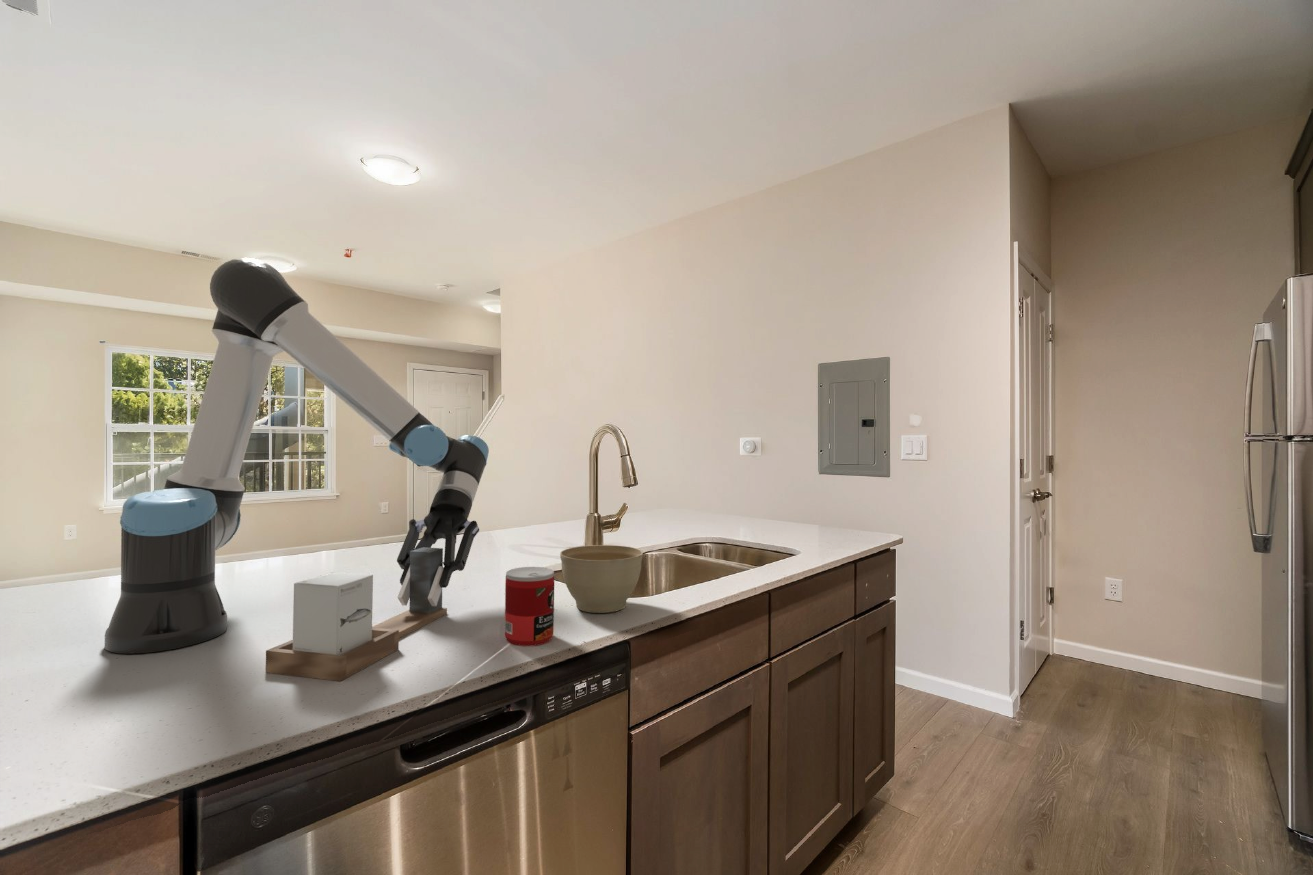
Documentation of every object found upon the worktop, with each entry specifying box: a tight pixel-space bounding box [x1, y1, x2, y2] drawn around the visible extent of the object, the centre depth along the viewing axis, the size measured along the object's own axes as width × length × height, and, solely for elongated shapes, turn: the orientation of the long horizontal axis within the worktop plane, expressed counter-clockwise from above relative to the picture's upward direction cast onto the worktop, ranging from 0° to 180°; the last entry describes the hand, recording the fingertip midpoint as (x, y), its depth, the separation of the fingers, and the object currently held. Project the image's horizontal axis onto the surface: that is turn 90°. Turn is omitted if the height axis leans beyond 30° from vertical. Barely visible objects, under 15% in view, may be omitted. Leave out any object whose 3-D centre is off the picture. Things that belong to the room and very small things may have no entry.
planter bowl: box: [559, 544, 644, 614], centre depth 114 cm, size 16×16×11 cm
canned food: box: [504, 566, 555, 647], centre depth 96 cm, size 8×8×11 cm
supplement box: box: [292, 571, 374, 655], centre depth 83 cm, size 7×7×13 cm
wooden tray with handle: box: [265, 547, 448, 682], centre depth 94 cm, size 12×30×12 cm, turn 168°
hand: (417, 601), depth 103 cm, fingers closed on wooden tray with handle, 5 cm apart
